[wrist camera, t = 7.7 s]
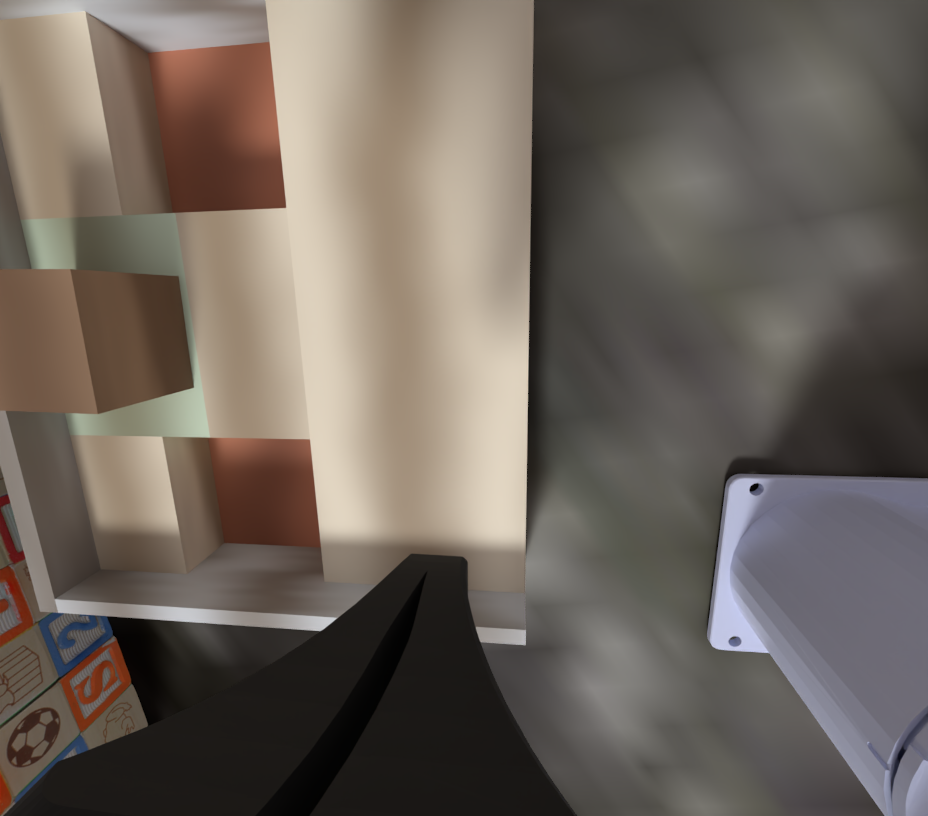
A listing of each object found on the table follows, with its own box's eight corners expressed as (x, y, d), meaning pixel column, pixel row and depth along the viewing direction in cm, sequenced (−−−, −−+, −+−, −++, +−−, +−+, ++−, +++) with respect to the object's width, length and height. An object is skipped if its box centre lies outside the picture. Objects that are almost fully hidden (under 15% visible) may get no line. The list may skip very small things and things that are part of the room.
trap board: (531, 6, 15) (538, -127, 11) (523, 562, 20) (525, 645, 16) (42, 51, 18) (-138, -42, 13) (142, 544, 23) (40, 611, 18)
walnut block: (178, 276, 16) (70, 269, 12) (193, 387, 17) (98, 414, 13) (76, 276, 16) (-61, 269, 13) (97, 385, 17) (-24, 409, 13)
